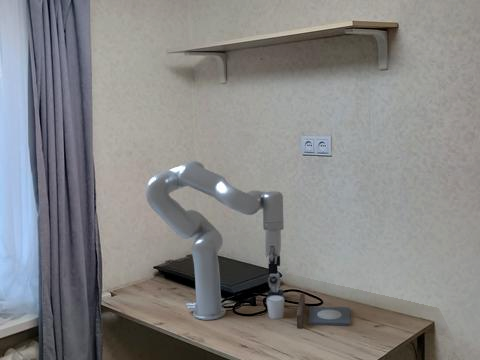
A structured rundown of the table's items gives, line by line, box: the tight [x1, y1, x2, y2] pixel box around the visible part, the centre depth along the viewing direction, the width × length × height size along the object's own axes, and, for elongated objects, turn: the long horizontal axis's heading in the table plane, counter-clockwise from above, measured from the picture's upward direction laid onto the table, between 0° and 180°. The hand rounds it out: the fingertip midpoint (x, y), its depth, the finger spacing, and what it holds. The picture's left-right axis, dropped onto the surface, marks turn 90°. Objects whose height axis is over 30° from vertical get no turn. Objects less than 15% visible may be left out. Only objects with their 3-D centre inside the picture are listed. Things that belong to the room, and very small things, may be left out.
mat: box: [307, 306, 351, 327], centre depth 201 cm, size 15×15×1 cm
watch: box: [267, 272, 285, 298], centre depth 222 cm, size 6×8×11 cm
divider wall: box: [296, 292, 306, 329], centre depth 202 cm, size 2×22×5 cm, turn 170°
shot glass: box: [266, 295, 285, 320], centre depth 204 cm, size 7×7×7 cm
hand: (274, 269), depth 202 cm, fingers open, 9 cm apart
